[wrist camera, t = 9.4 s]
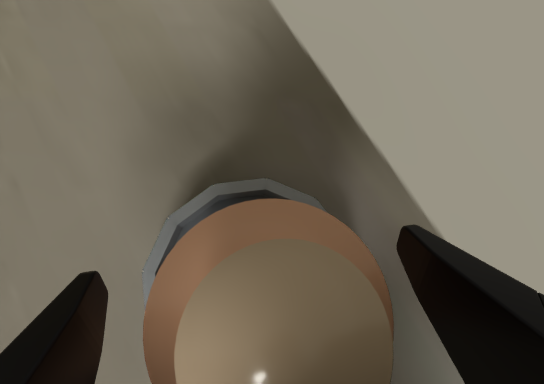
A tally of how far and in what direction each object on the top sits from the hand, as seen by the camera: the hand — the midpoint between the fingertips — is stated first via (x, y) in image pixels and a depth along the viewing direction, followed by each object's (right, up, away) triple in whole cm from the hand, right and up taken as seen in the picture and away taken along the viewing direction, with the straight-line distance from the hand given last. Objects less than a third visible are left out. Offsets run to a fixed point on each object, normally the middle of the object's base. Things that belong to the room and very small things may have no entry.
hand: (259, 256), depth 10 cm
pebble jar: (-1, -3, +8) cm, 8 cm away
